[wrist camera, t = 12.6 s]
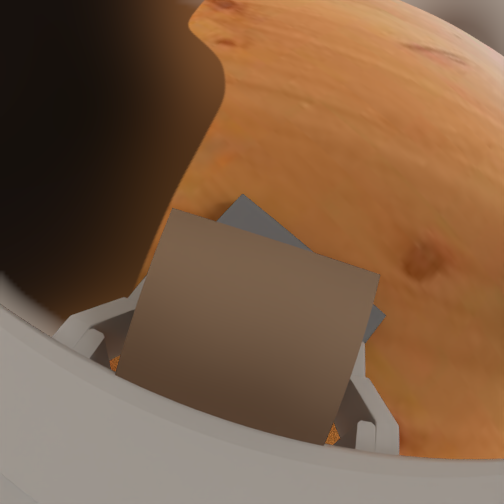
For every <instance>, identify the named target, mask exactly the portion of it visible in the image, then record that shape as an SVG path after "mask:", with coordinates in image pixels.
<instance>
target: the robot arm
mask: <svg viewBox="0 0 504 504" xmlns="http://www.w3.org/2000/svg"><path fill="white" fill-rule="evenodd" d="M146 276H147V275H146ZM146 276H145V278H144V279H143V280H142V281H141V282H140V284H139V285H138V286H137V287H136V289H135V290H134V291H133V292H132V293H131V295H130V296H129V297H128V298H125V297H123V298H120V299H117V300H114V301H111V302H108V303H106V304H103V305H100V306H97V307H94V308H91V309H88V310H85V311H83V312H80V313H77V314H74V315H71V316H70V317H69V318H68V319H67V320H66V321H65V323H64V324H63V325H62V326H61V327H60V328H59V329H58V330H57V332H56V333H55V334H54V335H53V336H52V337H50V336H49V335H47V334H45V333H44V332H42V331H41V330H39V329H37V328H36V327H34V326H32V325H31V324H29V323H28V322H26V321H25V320H23V319H22V318H20V317H19V316H17V315H16V314H14V313H13V312H11V311H10V310H9V309H7V308H6V307H4V306H3V305H1V304H0V504H504V459H441V458H425V457H412V456H402V455H399V426H398V424H397V422H396V421H395V419H394V418H393V416H392V414H391V413H390V411H389V410H388V408H387V406H386V405H385V403H384V402H383V400H382V398H381V397H380V395H379V394H378V392H377V390H376V389H375V387H374V386H373V384H372V382H371V381H370V379H369V378H366V377H365V344H364V342H362V343H361V347H360V350H359V353H358V356H357V359H356V362H355V365H354V368H353V371H352V374H351V377H350V380H349V382H348V385H347V388H346V391H345V394H344V396H343V399H342V402H341V404H340V407H339V409H338V412H337V415H336V417H335V420H334V424H335V426H336V429H337V431H338V434H339V436H340V439H339V440H338V441H337V442H336V443H335V444H334V445H330V444H324V446H321V445H316V444H311V443H307V442H302V441H298V440H294V439H290V438H286V437H282V436H278V435H274V434H271V433H267V432H263V431H260V430H256V429H253V428H250V427H246V426H243V425H240V424H237V423H233V422H230V421H227V420H224V419H221V418H218V417H215V416H212V415H210V414H207V413H204V412H201V411H198V410H196V409H193V408H190V407H188V406H185V405H183V404H180V403H177V402H175V401H172V400H170V399H167V398H165V397H163V396H160V395H158V394H156V393H153V392H151V391H149V390H146V389H144V388H142V387H140V386H137V385H135V384H133V383H131V382H129V381H127V380H124V379H122V378H120V377H118V376H116V375H115V373H116V372H115V371H113V370H111V367H110V362H109V361H110V360H112V359H113V358H115V357H117V356H119V355H121V352H122V349H123V346H124V342H125V339H126V336H127V333H128V329H129V326H130V323H131V320H132V317H133V314H134V311H135V308H136V305H137V302H138V299H139V296H140V293H141V290H142V287H143V284H144V282H145V279H146Z"/></svg>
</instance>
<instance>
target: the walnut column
mask: <svg viewBox="0 0 504 504" xmlns="http://www.w3.org/2000/svg"><path fill="white" fill-rule="evenodd" d="M379 279H380V274H377V273H374V272H371V271H368V270H365V269H362V268H359V267H356V266H353V265H350V264H347V263H344V262H341V261H338V260H335V259H332V258H329V257H326V256H323V255H320V254H316V253H313V252H310V251H307V250H304V249H301V248H298V247H295V246H292V245H289V244H286V243H283V242H279V241H276V240H273V239H270V238H267V237H264V236H261V235H258V234H254V233H251V232H248V231H245V230H242V229H239V228H235V227H232V226H229V225H226V224H223V223H219V222H216V221H213V220H210V219H207V218H203V217H200V216H197V215H194V214H190V213H187V212H184V211H181V210H177V209H174V208H172V211H171V213H170V216H169V218H168V221H167V223H166V226H165V228H164V231H163V233H162V236H161V238H160V241H159V244H158V246H157V249H156V251H155V254H154V257H153V259H152V262H151V265H150V268H149V270H148V273H147V276H146V279H145V282H144V284H143V287H142V290H141V293H140V296H139V299H138V302H137V305H136V308H135V311H134V314H133V317H132V320H131V323H130V326H129V329H128V333H127V336H126V339H125V342H124V346H123V349H122V352H121V356H120V359H119V362H118V366H117V369H116V373H115V375H116V376H118V377H120V378H122V379H124V380H127V381H129V382H131V383H133V384H135V385H137V386H140V387H142V388H144V389H146V390H149V391H151V392H153V393H156V394H158V395H160V396H163V397H165V398H167V399H170V400H172V401H175V402H177V403H180V404H183V405H185V406H188V407H190V408H193V409H196V410H198V411H201V412H204V413H207V414H210V415H212V416H215V417H218V418H221V419H224V420H227V421H230V422H233V423H237V424H240V425H243V426H246V427H250V428H253V429H256V430H260V431H263V432H267V433H271V434H274V435H278V436H282V437H286V438H290V439H294V440H298V441H302V442H307V443H311V444H316V445H321V446H324V444H325V442H326V439H327V437H328V434H329V432H330V430H331V427H332V425H333V422H334V420H335V417H336V415H337V412H338V409H339V407H340V404H341V402H342V399H343V396H344V394H345V391H346V388H347V385H348V382H349V380H350V377H351V374H352V371H353V368H354V365H355V362H356V359H357V356H358V353H359V350H360V347H361V343H362V340H363V337H364V334H365V330H366V327H367V323H368V320H369V316H370V313H371V309H372V306H373V302H374V298H375V294H376V291H377V287H378V283H379Z"/></svg>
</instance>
